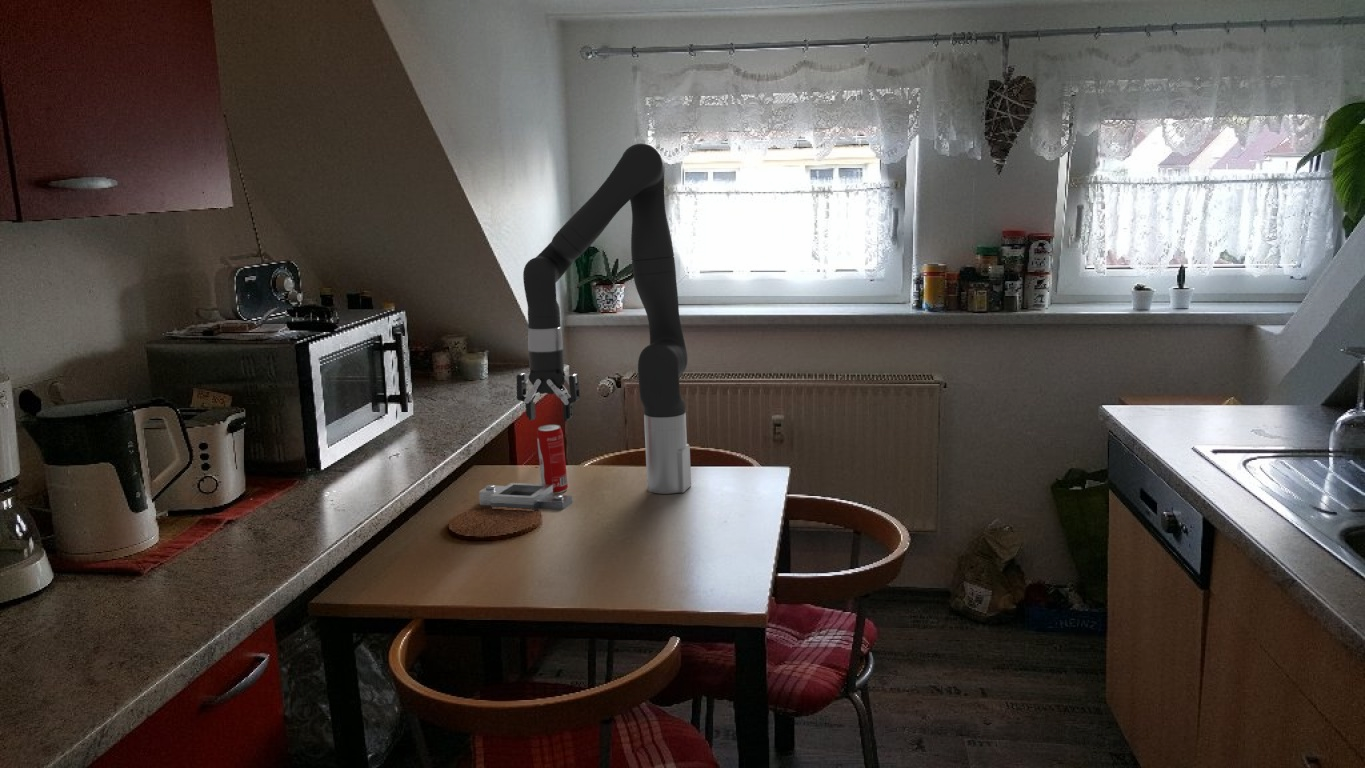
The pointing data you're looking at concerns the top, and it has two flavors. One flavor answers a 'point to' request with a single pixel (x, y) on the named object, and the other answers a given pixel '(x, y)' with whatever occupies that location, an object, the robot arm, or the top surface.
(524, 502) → the bolted grey bracket
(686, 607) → the top surface
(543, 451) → the beverage can
